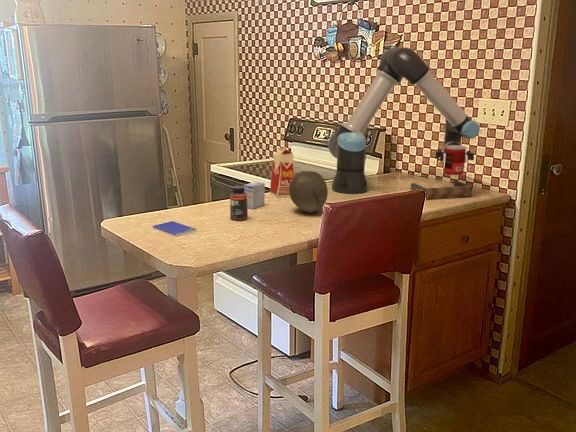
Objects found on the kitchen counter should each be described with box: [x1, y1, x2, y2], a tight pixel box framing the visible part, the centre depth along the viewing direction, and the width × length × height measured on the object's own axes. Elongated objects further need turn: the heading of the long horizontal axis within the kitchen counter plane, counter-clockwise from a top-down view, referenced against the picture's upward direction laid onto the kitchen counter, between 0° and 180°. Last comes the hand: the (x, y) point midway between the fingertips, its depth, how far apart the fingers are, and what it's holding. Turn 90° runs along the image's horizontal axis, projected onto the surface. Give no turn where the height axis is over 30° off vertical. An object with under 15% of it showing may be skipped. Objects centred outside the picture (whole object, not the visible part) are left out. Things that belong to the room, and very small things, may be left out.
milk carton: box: [269, 146, 296, 198], centre depth 230 cm, size 9×9×20 cm
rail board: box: [410, 180, 473, 201], centre depth 235 cm, size 22×11×4 cm, turn 107°
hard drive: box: [152, 220, 198, 238], centre depth 183 cm, size 2×8×12 cm
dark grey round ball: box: [289, 170, 329, 214], centre depth 205 cm, size 14×14×15 cm
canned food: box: [443, 145, 467, 176], centre depth 234 cm, size 8×8×11 cm
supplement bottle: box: [229, 185, 249, 222], centre depth 196 cm, size 6×6×11 cm
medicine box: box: [243, 181, 266, 210], centre depth 212 cm, size 8×4×9 cm, turn 149°
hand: (455, 159), depth 229 cm, fingers closed on canned food, 8 cm apart
